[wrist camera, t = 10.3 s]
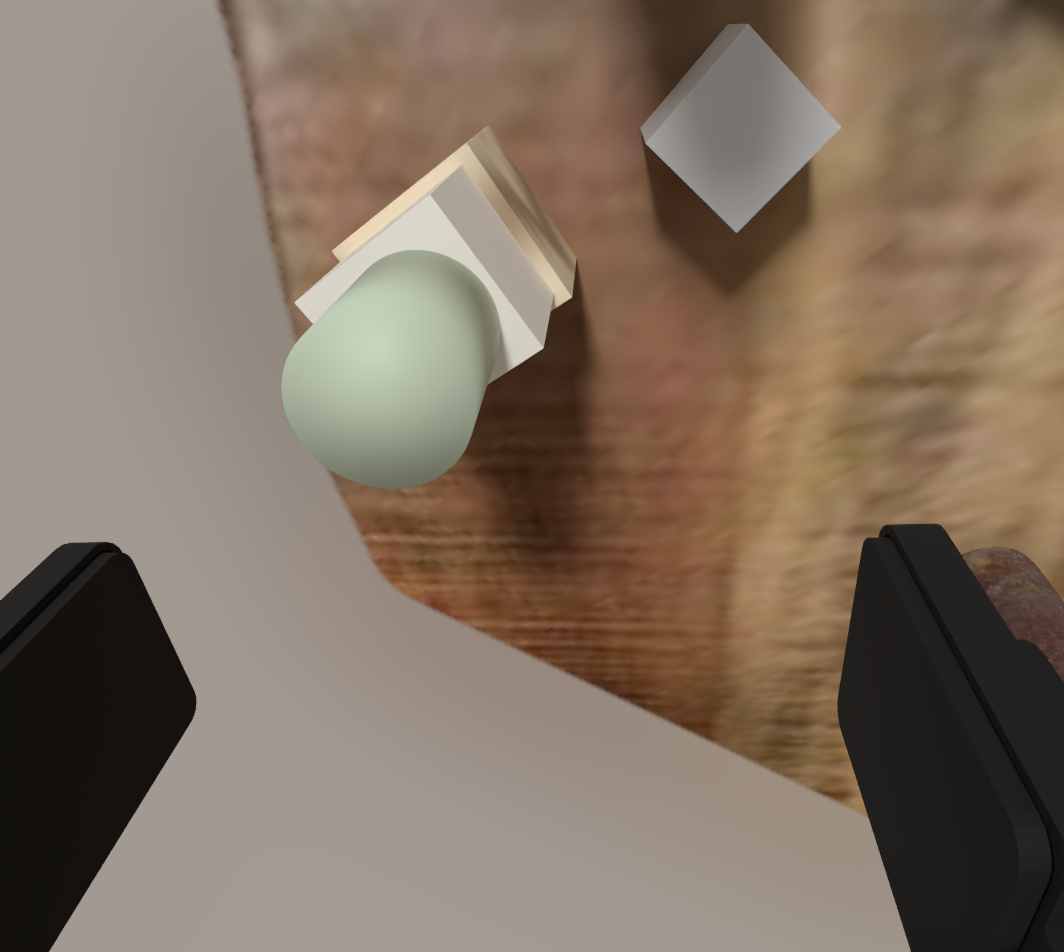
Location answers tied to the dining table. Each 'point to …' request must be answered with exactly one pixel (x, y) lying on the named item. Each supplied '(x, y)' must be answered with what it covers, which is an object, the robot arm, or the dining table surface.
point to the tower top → (470, 238)
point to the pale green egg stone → (395, 371)
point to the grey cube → (738, 125)
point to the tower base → (508, 201)
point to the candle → (1022, 599)
